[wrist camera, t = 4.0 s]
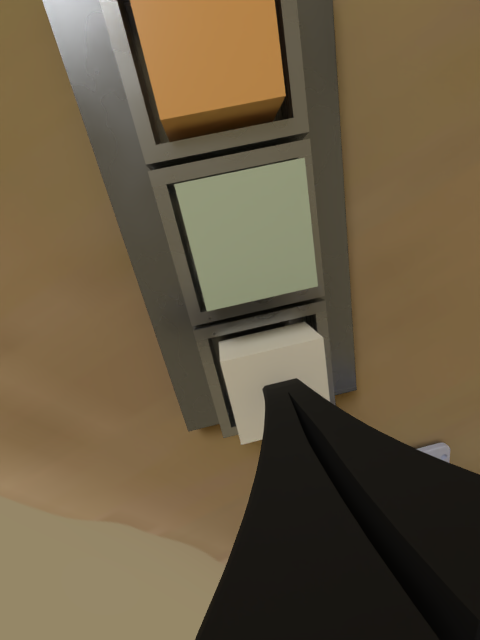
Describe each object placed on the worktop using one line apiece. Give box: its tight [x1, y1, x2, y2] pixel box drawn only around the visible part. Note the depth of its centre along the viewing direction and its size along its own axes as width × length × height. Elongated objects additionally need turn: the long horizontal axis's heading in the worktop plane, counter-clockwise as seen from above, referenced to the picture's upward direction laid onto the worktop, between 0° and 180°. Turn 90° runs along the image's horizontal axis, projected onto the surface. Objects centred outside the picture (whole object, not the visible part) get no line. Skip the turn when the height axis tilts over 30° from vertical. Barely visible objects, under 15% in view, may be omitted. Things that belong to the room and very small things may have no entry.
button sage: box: [174, 158, 318, 311], centre depth 9 cm, size 4×4×2 cm
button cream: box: [219, 322, 330, 445], centre depth 11 cm, size 4×4×2 cm
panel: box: [43, 0, 357, 438], centre depth 11 cm, size 19×10×3 cm, turn 12°
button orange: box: [130, 0, 286, 142], centre depth 8 cm, size 4×4×2 cm
